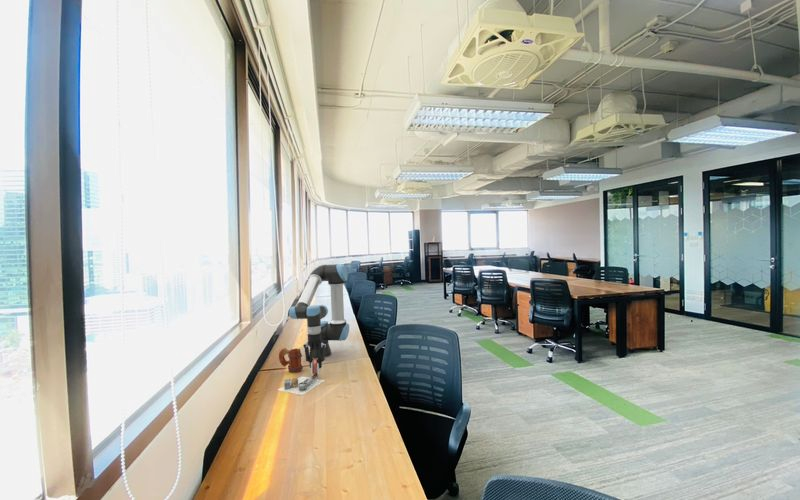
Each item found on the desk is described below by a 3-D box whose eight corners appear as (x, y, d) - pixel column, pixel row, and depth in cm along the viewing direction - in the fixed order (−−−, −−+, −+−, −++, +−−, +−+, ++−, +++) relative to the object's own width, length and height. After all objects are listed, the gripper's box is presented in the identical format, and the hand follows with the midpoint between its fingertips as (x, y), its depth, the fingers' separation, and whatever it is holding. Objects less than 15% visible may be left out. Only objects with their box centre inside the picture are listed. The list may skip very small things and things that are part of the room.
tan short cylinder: (294, 384, 180) (294, 378, 180) (299, 385, 178) (299, 379, 178) (289, 387, 176) (289, 380, 176) (295, 388, 175) (294, 381, 175)
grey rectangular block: (285, 385, 178) (284, 379, 178) (290, 385, 179) (290, 378, 179) (284, 389, 173) (284, 383, 173) (290, 388, 174) (290, 382, 174)
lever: (304, 390, 170) (303, 370, 170) (296, 389, 171) (296, 370, 171) (320, 376, 187) (320, 358, 187) (314, 376, 188) (313, 358, 188)
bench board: (301, 378, 191) (301, 375, 191) (325, 382, 184) (325, 379, 184) (277, 392, 173) (277, 388, 173) (302, 397, 167) (302, 393, 167)
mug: (305, 370, 203) (304, 346, 203) (300, 375, 195) (299, 350, 195) (283, 369, 205) (282, 346, 205) (276, 375, 197) (276, 350, 197)
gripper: (298, 334, 184) (299, 375, 184) (324, 334, 181) (326, 376, 181) (304, 331, 191) (306, 370, 191) (330, 331, 188) (331, 371, 188)
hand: (316, 373), depth 186 cm, fingers closed on lever, 3 cm apart
